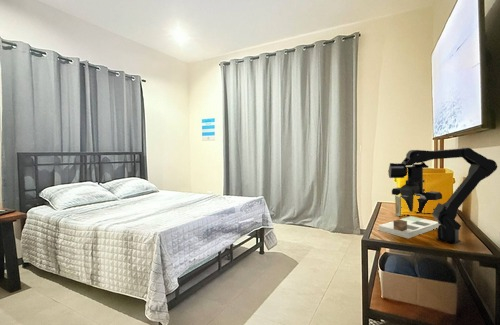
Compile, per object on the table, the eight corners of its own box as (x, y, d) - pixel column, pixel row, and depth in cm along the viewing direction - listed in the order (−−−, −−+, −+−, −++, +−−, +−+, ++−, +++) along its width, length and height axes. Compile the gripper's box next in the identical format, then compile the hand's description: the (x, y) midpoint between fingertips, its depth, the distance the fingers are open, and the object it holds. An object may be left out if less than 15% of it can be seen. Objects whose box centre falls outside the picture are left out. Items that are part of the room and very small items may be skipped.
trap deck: (440, 227, 128) (440, 222, 128) (408, 238, 115) (408, 233, 115) (410, 220, 141) (410, 216, 141) (378, 230, 127) (378, 225, 127)
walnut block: (406, 229, 119) (406, 221, 119) (401, 231, 117) (401, 222, 117) (398, 227, 123) (398, 219, 123) (393, 228, 121) (393, 220, 121)
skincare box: (406, 214, 153) (405, 194, 153) (409, 216, 149) (409, 196, 148) (394, 214, 154) (394, 195, 153) (398, 216, 150) (398, 196, 149)
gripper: (384, 177, 117) (384, 211, 118) (428, 181, 101) (428, 220, 102) (398, 175, 122) (398, 207, 123) (442, 179, 106) (442, 215, 107)
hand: (415, 212), depth 114 cm, fingers open, 3 cm apart
